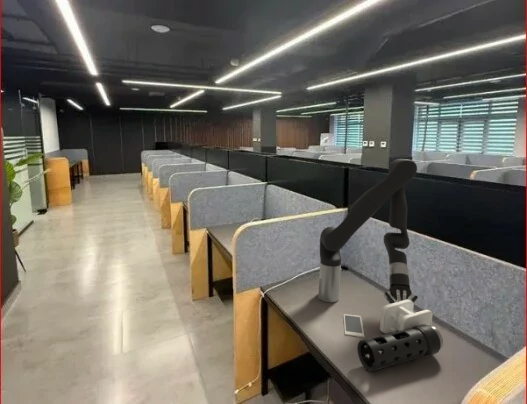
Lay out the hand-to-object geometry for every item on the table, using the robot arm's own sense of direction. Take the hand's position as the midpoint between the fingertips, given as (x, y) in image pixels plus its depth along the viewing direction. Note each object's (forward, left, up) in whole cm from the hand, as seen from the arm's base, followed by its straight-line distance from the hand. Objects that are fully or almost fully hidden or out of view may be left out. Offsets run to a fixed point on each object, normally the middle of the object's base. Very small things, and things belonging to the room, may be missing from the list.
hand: (402, 318), depth 120 cm
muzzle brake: (-4, -19, -5) cm, 20 cm away
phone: (-18, -2, -5) cm, 19 cm away
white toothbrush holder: (0, -4, -5) cm, 6 cm away
